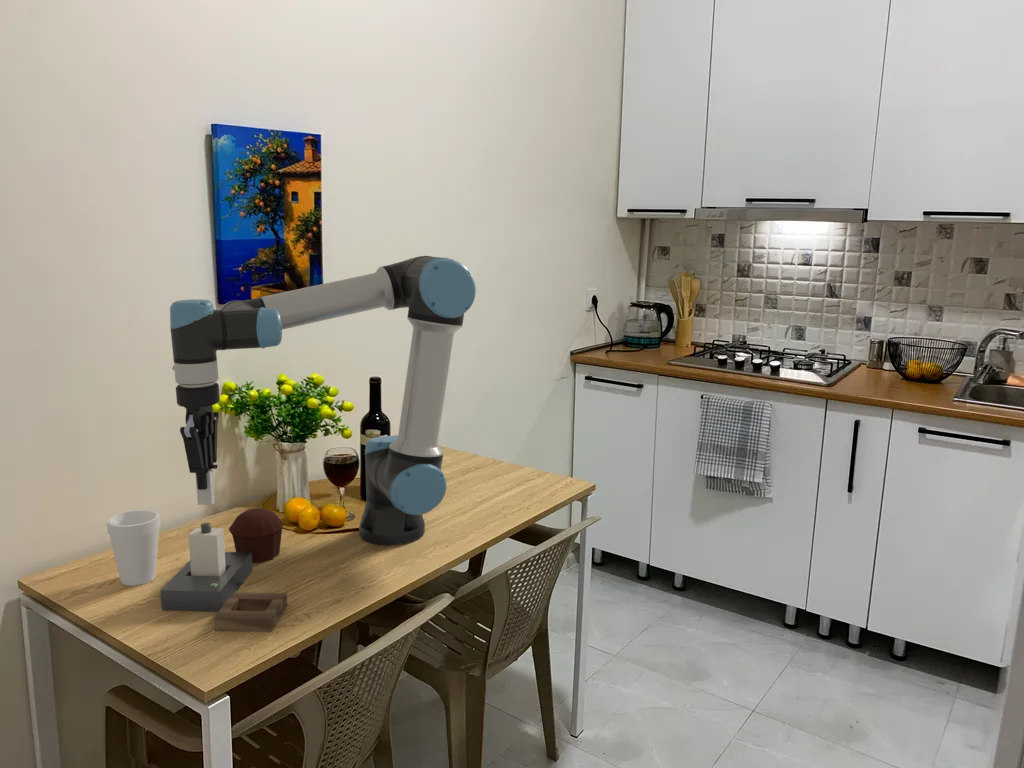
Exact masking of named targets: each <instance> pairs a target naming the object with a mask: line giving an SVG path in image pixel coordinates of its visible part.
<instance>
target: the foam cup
mask: <svg viewBox="0 0 1024 768" xmlns="http://www.w3.org/2000/svg"><path fill="white" fill-rule="evenodd" d="M160 516H161V515H160V513H158V512H157V510H151V509H133V510H125V511H122V512H119V513H116V514H113V515H112V516H110V517H108V518H107V520H106V527H107V528H106V529H107V534H108V535H109V539H110V544H111V546H112V553H113V555H114V559H115V563H116V568H117V572H118V576H119V579H120V583H121V584H122V585H125V586H127V587H130V586H131V587H135V586H142V585H145V583H146V584H148V583H150V581H151V580H152V581H153V580H155V579H154V578H156V572H157V560H158V559H157V558H158V547H159V545H158V544H159V532H160V527H161V518H160ZM152 581H151V582H152ZM141 584H142V585H141Z"/></svg>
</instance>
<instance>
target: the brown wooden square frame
mask: <svg viewBox="0 0 1024 768" xmlns="http://www.w3.org/2000/svg"><path fill="white" fill-rule="evenodd" d="M287 594H288V593H287V592H253V591H252V592H251V591H249V592H248V591H245V592H244V591H237V592H234V593H233V594H232V595H231V596H230V598H229V599H228V600H227V602H226V603H225V604H224V605H223V607H222V608H221V609H220V611H219V612H217V613H216V615H215V616H213V617H214V618H213V619H214V621H213V622H214V631H221V632H227V631H228V632H261V633H263V632H269V633H271V632H273V630H274V628H275V626H276V625H277V623H278V621H280V618H281V617H282V615H283V613H284V612H285V610H286V609H287V606H288V595H287Z"/></svg>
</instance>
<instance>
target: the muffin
mask: <svg viewBox="0 0 1024 768" xmlns="http://www.w3.org/2000/svg"><path fill="white" fill-rule="evenodd" d="M284 526H285V522H283V521H282V519H281V518H280V517H279V516H278V515H277V514H276V512H274V511H273V510H270V509H267V508H264V507H254V508H250V509H246V510H245V511H243V512H242V513H240V514H238V515H237V517H236V518H235V519H234V521H233V522H232V524H231V525H230V526H229V528H228V531H229V532H230V534H231V535H232V540H233V544H234V548H235V552H252V564H254V563H255V564H260V563H265V562H267V561H272V560H274V559H275V558H276V557H278V556H279V555H280V552H281V551H280V548H281V542H282V541H281V540H282V533H283V528H284Z"/></svg>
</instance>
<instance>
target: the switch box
mask: <svg viewBox="0 0 1024 768" xmlns="http://www.w3.org/2000/svg"><path fill="white" fill-rule="evenodd" d="M225 563H226V572H225V573H224V574H223V575H222V576H191V564H190V560H189V561H188V562H187V563H186V564H185V565H183V567H182V568H180V570H179V571H177V573H176V574H175V575H174V576H173V577H172V578H171V579H170V580H169V581H168V582H167V583H166V584H165V585H164V586H163V587H162V588H161V589H160V600H161V601H160V602H161V604H160V605H161V611H168V610H172V611H171V612H175V611H176V612H178V611H179V612H181V611H182V612H215V613H216V612H217V613H218V612H219V611H220V609H221V608H222V607H223V605H224V604H225V603H226V602H227V600H228V599H229V598H230V596H231V595H232V594H233V593H234V592H238V590H239V589H240V588H241V586H243V584H244V582H245V581H246V580H247V579H248V578H249V576H250V575H251V573H253V570H254V569H253V567H254V566H253V563H252V552H236V551H225ZM173 610H175V611H173Z"/></svg>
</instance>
